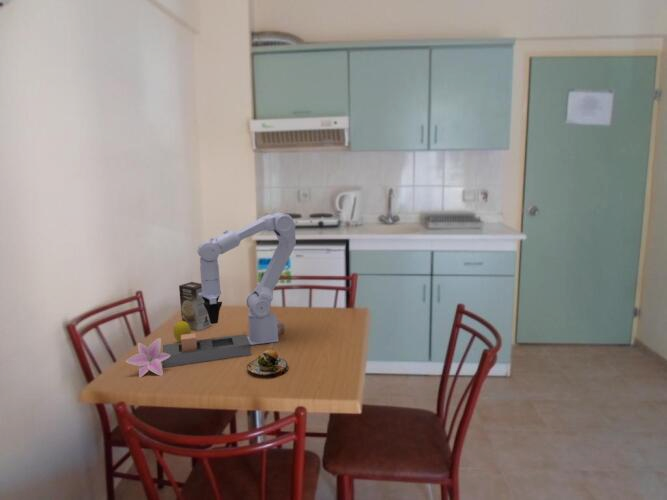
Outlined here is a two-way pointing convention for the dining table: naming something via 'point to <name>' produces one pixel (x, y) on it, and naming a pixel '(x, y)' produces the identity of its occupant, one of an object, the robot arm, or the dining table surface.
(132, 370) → the dining table surface
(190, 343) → the peg
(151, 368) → the lily
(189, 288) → the coffee box
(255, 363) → the burger
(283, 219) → the robot arm
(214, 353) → the grey slotted board
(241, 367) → the dining table surface
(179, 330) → the lemon
